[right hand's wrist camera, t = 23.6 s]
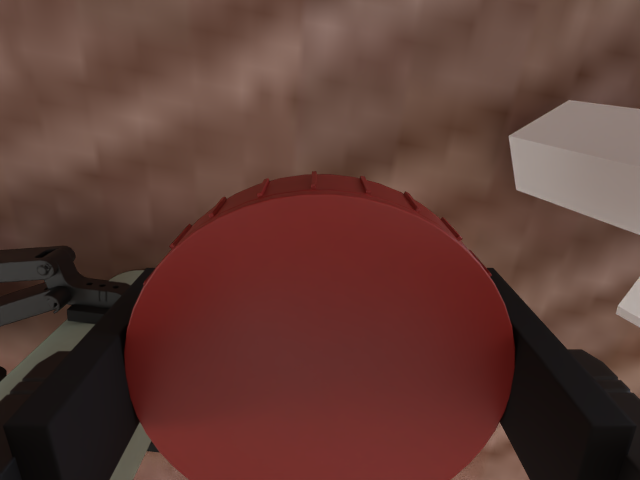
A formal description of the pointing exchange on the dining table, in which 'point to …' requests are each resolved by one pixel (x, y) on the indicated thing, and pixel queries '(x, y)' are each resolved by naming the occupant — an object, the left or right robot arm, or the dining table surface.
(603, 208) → the pile of blocks
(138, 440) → the jar
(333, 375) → the lid
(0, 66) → the dining table surface
